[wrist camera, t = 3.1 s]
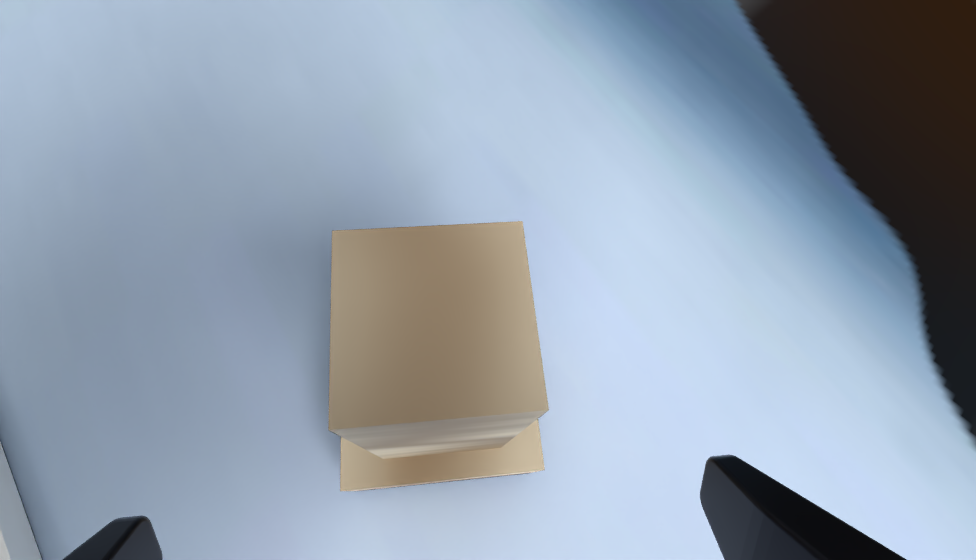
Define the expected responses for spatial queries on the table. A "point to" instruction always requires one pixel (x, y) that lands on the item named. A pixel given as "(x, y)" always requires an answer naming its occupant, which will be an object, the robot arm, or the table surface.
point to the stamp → (434, 355)
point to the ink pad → (14, 520)
